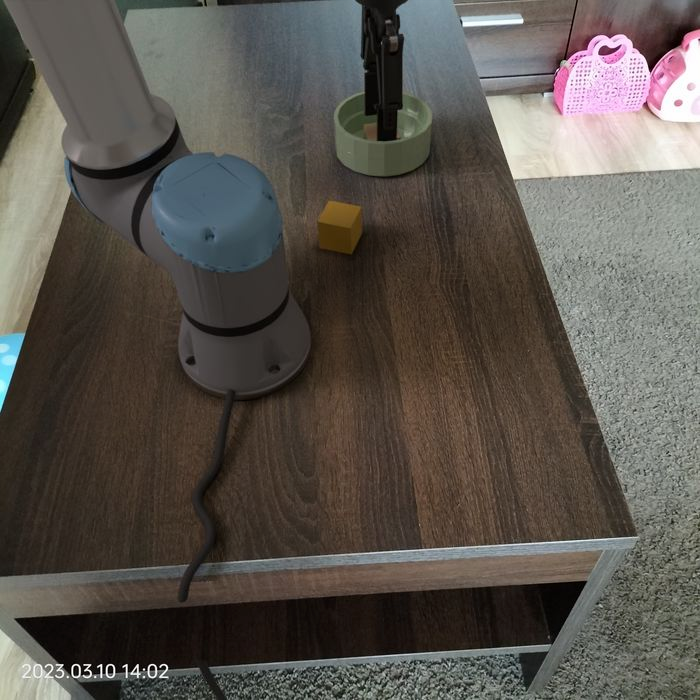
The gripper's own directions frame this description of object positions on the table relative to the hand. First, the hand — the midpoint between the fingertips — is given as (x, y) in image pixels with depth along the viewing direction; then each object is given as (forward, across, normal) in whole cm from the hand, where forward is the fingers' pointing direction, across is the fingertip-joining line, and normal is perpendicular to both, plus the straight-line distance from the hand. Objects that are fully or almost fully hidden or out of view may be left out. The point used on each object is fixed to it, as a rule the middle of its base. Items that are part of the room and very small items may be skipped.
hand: (380, 128), depth 105 cm
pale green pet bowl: (+5, +2, -1) cm, 5 cm away
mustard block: (+5, -17, +9) cm, 20 cm away
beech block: (+4, -1, 0) cm, 4 cm away
